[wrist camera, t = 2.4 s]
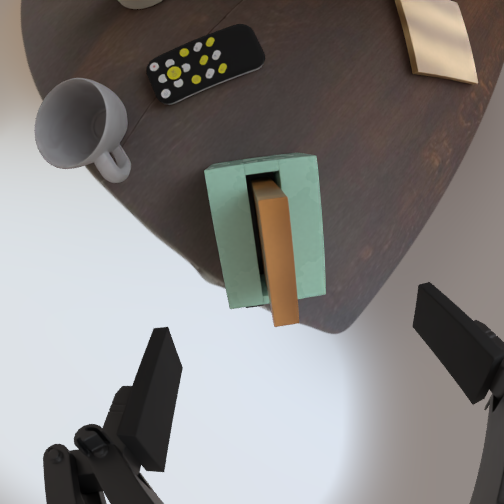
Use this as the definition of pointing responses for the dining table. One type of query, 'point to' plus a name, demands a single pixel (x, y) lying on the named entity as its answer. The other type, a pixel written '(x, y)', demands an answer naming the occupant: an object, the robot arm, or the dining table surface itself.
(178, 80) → the remote control
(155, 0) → the travel mug
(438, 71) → the board
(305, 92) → the dining table surface
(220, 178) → the toaster
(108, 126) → the mug
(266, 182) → the toast
